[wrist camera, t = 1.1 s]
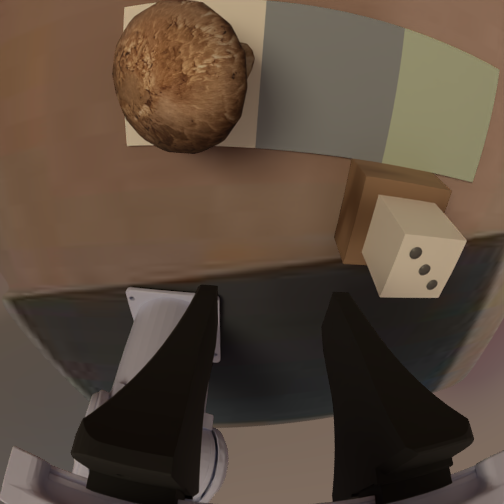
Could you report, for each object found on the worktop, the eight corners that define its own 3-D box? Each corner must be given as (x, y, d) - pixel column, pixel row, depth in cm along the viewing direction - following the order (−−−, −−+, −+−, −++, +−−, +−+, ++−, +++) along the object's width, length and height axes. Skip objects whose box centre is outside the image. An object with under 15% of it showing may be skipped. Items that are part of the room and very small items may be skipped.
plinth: (406, 243, 22) (421, 268, 19) (334, 237, 22) (343, 263, 19) (430, 171, 18) (451, 191, 16) (351, 157, 18) (366, 175, 16)
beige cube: (414, 255, 19) (438, 298, 15) (361, 252, 19) (380, 298, 15) (434, 203, 16) (467, 241, 13) (378, 194, 16) (405, 234, 13)
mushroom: (316, 32, 11) (219, 44, 8) (261, 150, 18) (182, 203, 14) (195, -19, 12) (94, -6, 8) (172, 87, 19) (92, 122, 15)
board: (471, 181, 18) (472, 182, 18) (128, 144, 18) (126, 145, 18) (497, 69, 13) (499, 69, 13) (125, 7, 12) (124, 7, 12)
